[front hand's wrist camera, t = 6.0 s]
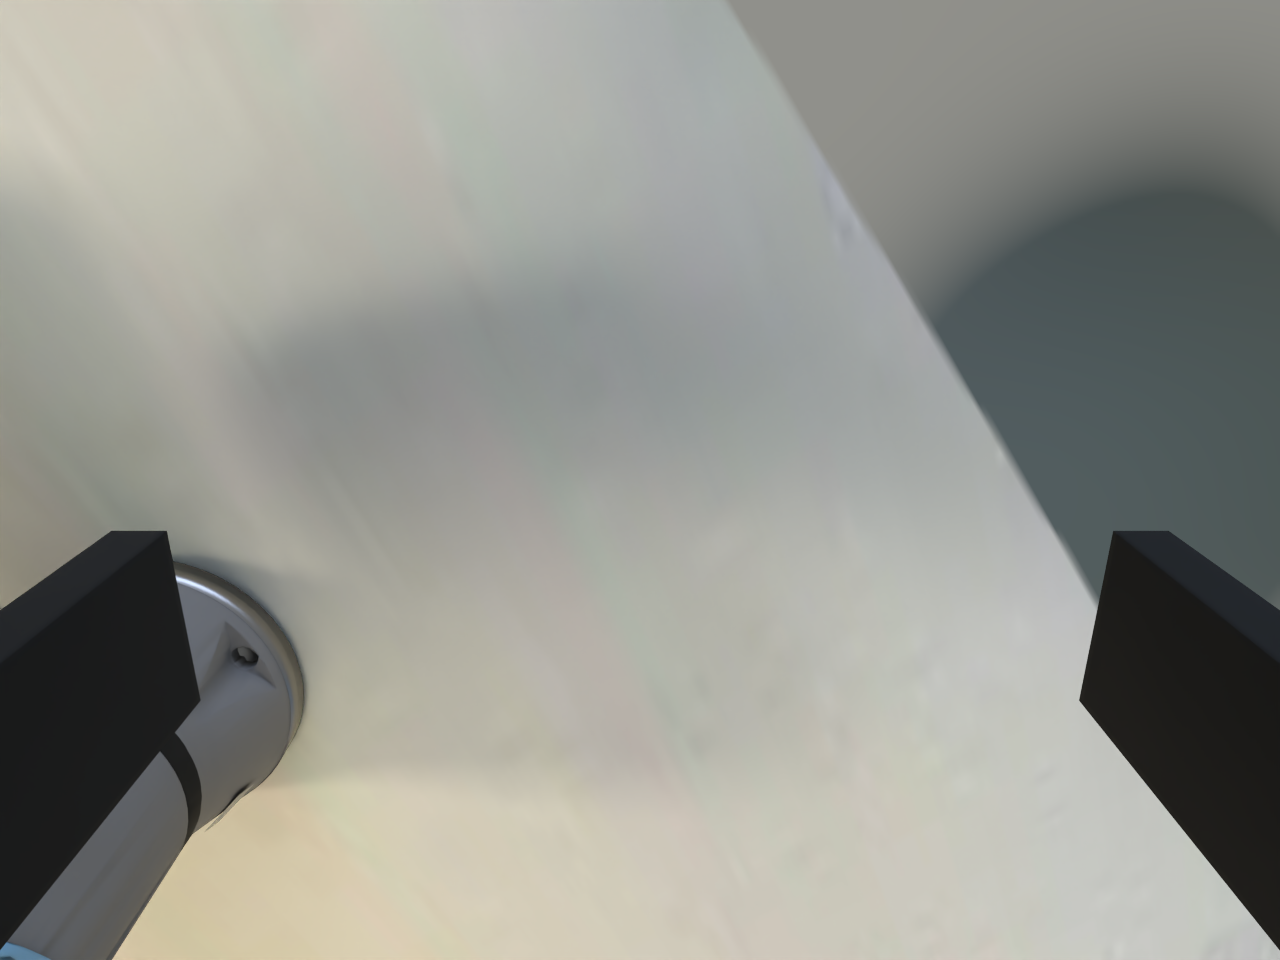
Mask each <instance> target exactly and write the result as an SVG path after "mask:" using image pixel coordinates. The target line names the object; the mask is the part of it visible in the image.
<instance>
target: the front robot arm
mask: <svg viewBox="0 0 1280 960" xmlns="http://www.w3.org/2000/svg"><path fill="white" fill-rule="evenodd" d="M303 698H304V693H303V682H302V676H301V671H300V668H299V665H298V662H297V659H296V656H295V654H294V652H293V649H292V647H291V646H290V644H289V642H288V640H287V638H286V637H285V635H284V634H283V632H282V631H281V629H280V628H279V626H278V625H277V624H276V623H275V621H274V620H273V619H272V618H271V617H270V615H269V614H268V613H267V612H266V611H265V610H264V609H263V608H262V607H261V606H260V605H258V604H257V603H256V602H255V601H254V600H253V599H252V598H250V597H249V596H248V595H246V594H245V593H244V592H242V591H241V590H240V589H238V588H237V587H235V586H233V585H232V584H230V583H228V582H227V581H225V580H223V579H221V578H219V577H217V576H215V575H213V574H211V573H208V572H206V571H203V570H201V569H198V568H195V567H192V566H189V565H186V564H181V563H177V562H173V560H172V555H171V550H170V545H169V540H168V535H167V531H111V532H109V533H108V534H107V535H105V536H104V537H102V538H101V539H100V540H98V541H97V542H95V543H94V544H93V545H91V546H90V547H88V548H87V549H86V550H84V551H83V552H81V553H80V554H79V555H77V556H76V557H74V558H73V559H72V560H70V561H69V562H67V563H66V564H65V565H63V566H62V567H60V568H59V569H58V570H56V571H55V572H53V573H52V574H51V575H49V576H48V577H46V578H45V579H44V580H42V581H41V582H39V583H38V584H37V585H35V586H34V587H32V588H31V589H30V590H28V591H27V592H25V593H24V594H23V595H21V596H20V597H18V598H17V599H16V600H14V601H13V602H11V603H10V604H9V605H7V606H6V607H4V608H3V609H2V610H0V960H112V959H113V957H114V956H115V954H116V952H117V951H118V949H119V948H120V946H121V945H122V943H123V941H124V940H125V938H126V937H127V935H128V934H129V932H130V930H131V929H132V927H133V926H134V924H135V923H136V921H137V919H138V918H139V916H140V915H141V913H142V912H143V910H144V908H145V907H146V905H147V904H148V902H149V901H150V899H151V897H152V896H153V894H154V893H155V891H156V890H157V888H158V886H159V885H160V883H161V882H162V880H163V879H164V877H165V875H166V874H167V872H168V871H169V869H170V868H171V866H172V864H173V863H174V861H175V860H176V858H177V857H178V855H179V853H180V852H181V850H182V849H183V847H184V846H185V844H186V843H187V841H188V840H189V838H190V837H191V835H192V834H193V833H194V832H196V831H197V830H199V829H200V828H201V827H203V826H204V825H205V824H207V823H208V822H210V821H211V820H212V819H214V818H215V817H216V816H218V815H219V814H221V813H222V812H223V811H224V812H223V813H222V814H221V815H220V816H219V817H218V818H217V819H216V820H215V821H214V822H213V823H212V824H211V826H210V827H209V828H211V827H212V826H213V825H215V824H216V823H217V822H219V821H220V820H221V819H222V818H223V816H224V815H225V814H226V813H227V812H228V811H229V810H230V809H231V808H232V807H233V806H234V805H235V804H236V803H237V802H238V801H239V799H241V798H242V797H243V796H245V795H246V794H248V793H249V792H250V791H252V790H253V789H255V788H256V787H257V786H259V785H260V784H261V783H262V782H263V781H264V780H265V779H266V778H267V777H268V776H269V775H270V774H271V773H272V772H273V770H274V769H275V768H276V766H277V765H278V763H279V762H280V760H281V758H282V757H283V755H284V753H285V751H286V750H287V748H288V746H289V745H290V743H291V741H292V740H293V738H294V736H295V734H296V731H297V729H298V727H299V723H300V720H301V716H302V710H303ZM1079 701H1080V702H1081V703H1082V705H1083V706H1084V707H1085V708H1086V710H1087V711H1088V712H1089V713H1090V714H1091V716H1092V717H1093V718H1094V719H1095V721H1096V722H1097V723H1098V724H1099V726H1100V727H1101V728H1102V729H1103V731H1104V732H1105V733H1106V734H1107V736H1108V737H1109V738H1110V739H1111V741H1112V742H1113V743H1114V744H1115V746H1116V747H1117V748H1118V749H1119V751H1120V752H1121V753H1122V754H1123V756H1124V757H1125V758H1126V759H1127V761H1128V762H1129V763H1130V764H1131V766H1132V767H1133V768H1134V769H1135V771H1136V772H1137V773H1138V774H1139V776H1140V777H1141V778H1142V779H1143V780H1144V782H1145V783H1146V784H1147V785H1148V787H1149V788H1150V789H1151V790H1152V792H1153V793H1154V794H1155V795H1156V797H1157V798H1158V799H1159V800H1160V802H1161V803H1162V804H1163V805H1164V807H1165V808H1166V809H1167V810H1168V812H1169V813H1170V814H1171V815H1172V817H1173V818H1174V819H1175V820H1176V822H1177V823H1178V824H1179V825H1180V827H1181V828H1182V829H1183V830H1184V832H1185V833H1186V834H1187V835H1188V837H1189V838H1190V839H1191V840H1192V842H1193V843H1194V844H1195V845H1196V846H1197V848H1198V849H1199V850H1200V851H1201V853H1202V854H1203V855H1204V856H1205V858H1206V859H1207V860H1208V861H1209V863H1210V864H1211V865H1212V866H1213V868H1214V869H1215V870H1216V871H1217V873H1218V874H1219V875H1220V876H1221V878H1222V879H1223V880H1224V881H1225V883H1226V884H1227V885H1228V886H1229V888H1230V889H1231V890H1232V891H1233V893H1234V894H1235V895H1236V896H1237V898H1238V899H1239V900H1240V901H1241V903H1242V904H1243V905H1244V906H1245V908H1246V909H1247V910H1248V911H1249V913H1250V914H1251V915H1252V916H1253V917H1254V919H1255V920H1256V921H1257V922H1258V924H1259V925H1260V926H1261V927H1262V929H1263V930H1264V931H1265V932H1266V934H1267V935H1268V936H1269V937H1270V939H1271V940H1272V941H1273V942H1274V944H1275V945H1276V946H1277V947H1278V949H1279V950H1280V610H1278V609H1277V608H1276V607H1274V606H1273V605H1271V604H1270V603H1269V602H1267V601H1266V600H1264V599H1263V598H1262V597H1260V596H1259V595H1257V594H1256V593H1255V592H1253V591H1252V590H1250V589H1249V588H1248V587H1246V586H1245V585H1243V584H1242V583H1241V582H1239V581H1238V580H1236V579H1235V578H1234V577H1232V576H1231V575H1229V574H1228V573H1227V572H1225V571H1224V570H1222V569H1221V568H1220V567H1218V566H1217V565H1215V564H1214V563H1213V562H1211V561H1210V560H1208V559H1207V558H1206V557H1204V556H1203V555H1201V554H1200V553H1199V552H1197V551H1196V550H1194V549H1193V548H1192V547H1190V546H1189V545H1187V544H1186V543H1185V542H1183V541H1182V540H1180V539H1179V538H1178V537H1176V536H1175V535H1173V534H1172V533H1171V532H1169V531H1113V535H1112V540H1111V545H1110V550H1109V555H1108V560H1107V565H1106V570H1105V575H1104V580H1103V585H1102V590H1101V595H1100V600H1099V605H1098V610H1097V615H1096V620H1095V625H1094V630H1093V635H1092V640H1091V645H1090V649H1089V654H1088V659H1087V664H1086V669H1085V674H1084V679H1083V684H1082V689H1081V694H1080V699H1079ZM209 828H208V829H209ZM208 829H207V830H208ZM207 830H206V831H207Z"/></svg>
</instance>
